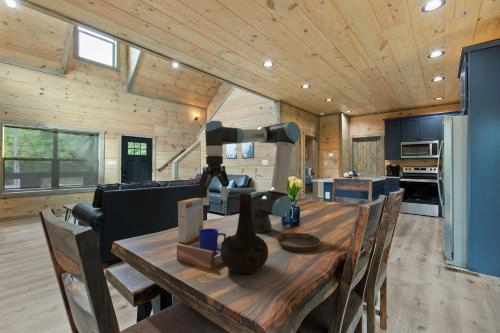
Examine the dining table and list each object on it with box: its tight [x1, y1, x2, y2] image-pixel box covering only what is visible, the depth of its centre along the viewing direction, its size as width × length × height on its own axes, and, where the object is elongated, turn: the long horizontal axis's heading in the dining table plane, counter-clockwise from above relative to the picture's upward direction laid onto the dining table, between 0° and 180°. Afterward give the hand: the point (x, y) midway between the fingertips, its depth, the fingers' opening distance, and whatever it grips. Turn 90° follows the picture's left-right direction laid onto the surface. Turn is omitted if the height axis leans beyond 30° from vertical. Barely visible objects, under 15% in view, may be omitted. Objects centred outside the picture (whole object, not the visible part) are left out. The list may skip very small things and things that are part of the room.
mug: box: [198, 228, 227, 255], centre depth 104 cm, size 8×12×10 cm
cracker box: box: [177, 197, 204, 244], centre depth 125 cm, size 14×6×21 cm, turn 155°
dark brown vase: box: [220, 193, 269, 275], centre depth 89 cm, size 18×18×28 cm
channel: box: [176, 241, 224, 269], centre depth 101 cm, size 17×18×6 cm
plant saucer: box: [276, 232, 321, 252], centre depth 116 cm, size 21×21×3 cm
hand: (215, 202), depth 108 cm, fingers open, 13 cm apart
